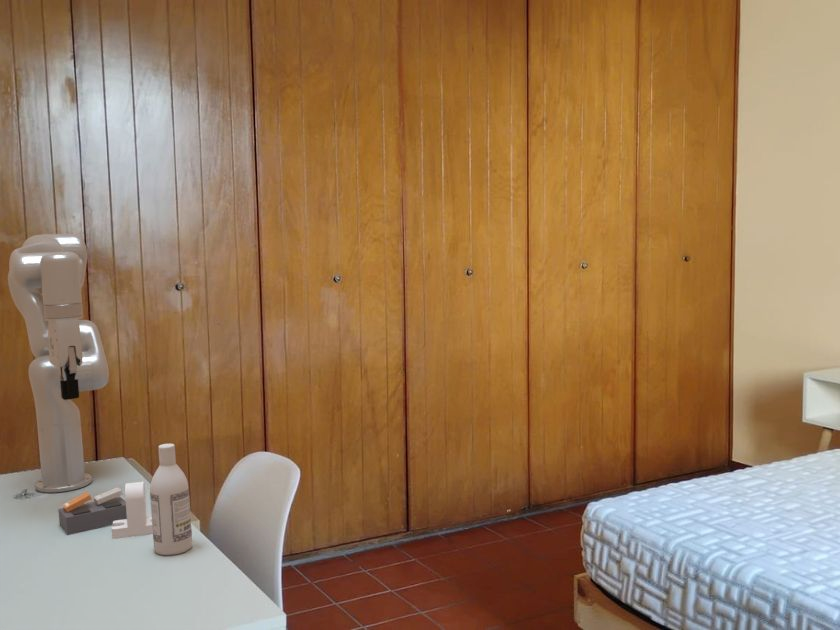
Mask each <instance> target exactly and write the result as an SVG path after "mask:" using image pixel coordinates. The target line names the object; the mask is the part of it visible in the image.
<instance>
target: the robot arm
mask: <svg viewBox="0 0 840 630" xmlns="http://www.w3.org/2000/svg"><path fill="white" fill-rule="evenodd" d="M87 263H88V250H87V246H86V243H85V241H84V239H83V238H82V237H81V235H79V234H77V233H42V234H35V235H31V236H30V237H28V238H27V239H26V240H25V241H24V242H23V243H22V246H21V247H18V248H15V249H14V250H12V252H11V254H10V257H9V264H8V267H9V271H8V272H7V273H8V274H7V282H8V283H7V285H8V289H9V292H10V297H11V298H12V300H13V301H12V302H14V305H15V307H16V308H17V310H18V311H19V312H20V314H21V316H22V318H23V320H24V323H25V326H26V331H27V337H28V343H29V347H30V352H31V353H32V355H33V357H34V358H35V359H33V360H32V361H31V362H30V363H29V366H28V379H29V382H30V387H31V391H32V395H33V400H34V406H35V408H34V409H35V414H36V415H35V416H36V427H37V437H38V450H39V461H40V473H41V479H40V480H37V482H35V484H34V486H35V487H34V489H35V490H36V491H38V492H40V493H61V492H62V493H63V492H69V491H74V490H78V489H81V488H83V487H86V486H88V485H89V484H91V483H92V481H93V476H92V475H91V474H89V473H86V472H85V471H86V470H85V460H84V459H85V458H84V447H83V435H82V434H83V433H82V421H81V419H82V418H81V411H80V409H79V407H78V405H76V403H75V402H74V401H72V400H75V399H79V398H80V392H88V391H96V390H100V389H103V388H104V387H106V386H107V384H108V383H109V379H110V378H109V377H110V369H109V365H108V361H107V357H106V354H105V349H104V345H103V342H102V338H101V333H100V331H99V329H98V326H97V325H96V323H94V321H91V320H88V319H84V312H83V311H84V310H83V308H84V307H83V296H82V287H84V283H85V275H86V269H87Z"/></svg>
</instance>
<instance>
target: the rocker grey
mask: <svg viewBox="0 0 840 630" xmlns="http://www.w3.org/2000/svg"><path fill="white" fill-rule="evenodd" d="M123 494H124V493H123V491H122V489H121V488H119V486H117V487H114V488H112V489H110V490H107V491H105V492H101V493H99V494H97V495H95V496H93V498H92V499H93V500H94V501H95V502H96V503H97V504H98V505H99V504H101V503H103V502H106V501H108V500H111V499H113V498H115V497H119V496H120V497H121V496H122V495H123ZM94 501H93V502H94Z"/></svg>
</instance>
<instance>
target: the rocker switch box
mask: <svg viewBox="0 0 840 630" xmlns="http://www.w3.org/2000/svg"><path fill="white" fill-rule="evenodd" d="M57 512H58V522H59V526H60V527H61V529H62V530H63V531H64V533H65V534H66V535H67V536H68V535H74V534H79V533H82V532H87V531H90V530H96V529H101V528H105V527H108V526H113V521H116V520H124V519H127V513H126V499H124V498H123V497H121V495H120V496H118V497H115V498H113V499H111V500H108V501H106V502H103V503H101V504H99V505H98V504H97V503H96V502H95V501H90V502H86V503H84V504H82V505H80V506H78V507H77V508H75V509H73V510H71V511H69V512H66V510H65V509H64V508H63V507H62V508H61V507H60V508H58V510H57Z"/></svg>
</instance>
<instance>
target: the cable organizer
mask: <svg viewBox="0 0 840 630" xmlns="http://www.w3.org/2000/svg"><path fill="white" fill-rule="evenodd" d="M124 485H125V486H124V487H125V488H124V489H125V490H124V497H125V499H124V500H125V501H126V513H127V519H124V520H116V521H113V525H112V526H111V528H110V529H111V538H112V539H113V540H114V539H115V540H116V539H117V540H118V539H123V538H133V537H139V536H146V535H153V528H152V516H148V514H147V512H148V511H147V501H146V487H145V481H140V482H139V481H137V482H126V483H125V484H124Z"/></svg>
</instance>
